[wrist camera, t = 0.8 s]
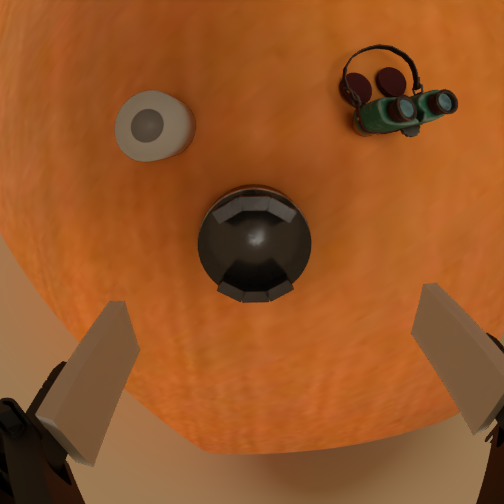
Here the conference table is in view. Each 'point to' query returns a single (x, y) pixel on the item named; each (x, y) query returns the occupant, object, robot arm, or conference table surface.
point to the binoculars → (393, 100)
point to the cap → (154, 126)
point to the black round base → (254, 243)
